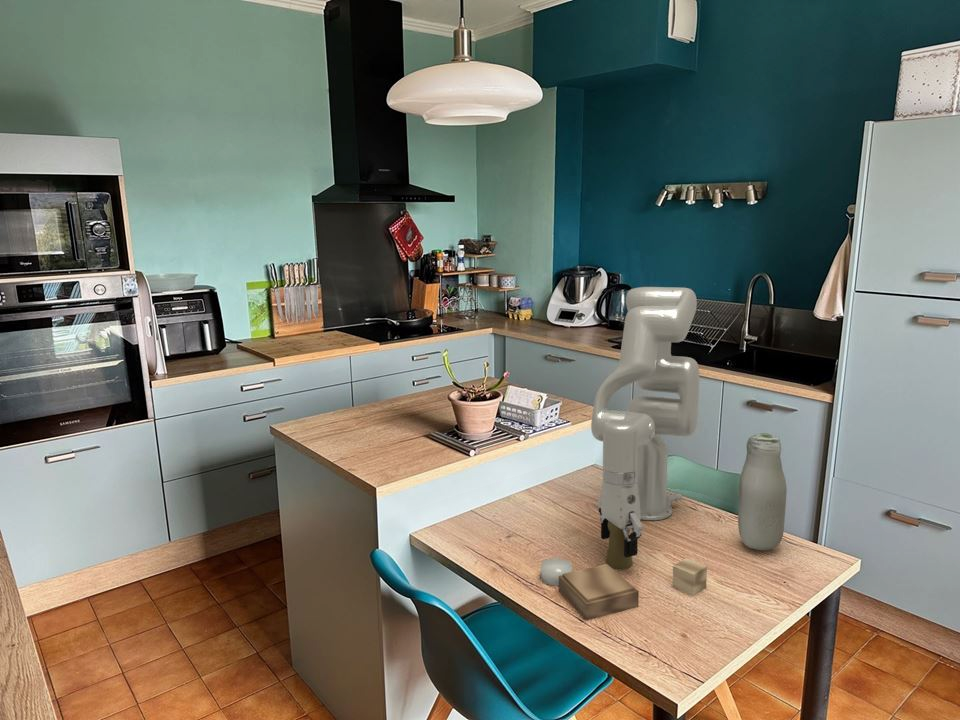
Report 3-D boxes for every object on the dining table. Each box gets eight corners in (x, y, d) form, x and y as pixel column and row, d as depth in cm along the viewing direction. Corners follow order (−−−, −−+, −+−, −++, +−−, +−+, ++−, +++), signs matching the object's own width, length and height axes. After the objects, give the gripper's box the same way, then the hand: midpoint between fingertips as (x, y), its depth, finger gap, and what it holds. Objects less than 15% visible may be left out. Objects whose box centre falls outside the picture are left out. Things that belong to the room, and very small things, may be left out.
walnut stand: (607, 578, 151) (607, 561, 150) (638, 606, 140) (638, 588, 139) (558, 590, 147) (558, 573, 146) (586, 620, 136) (586, 601, 135)
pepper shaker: (627, 572, 154) (627, 526, 151) (601, 565, 157) (601, 520, 155) (636, 560, 159) (636, 516, 156) (611, 554, 162) (611, 510, 160)
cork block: (685, 579, 150) (686, 557, 149) (706, 587, 146) (707, 566, 145) (672, 587, 147) (672, 565, 146) (693, 596, 143) (693, 574, 142)
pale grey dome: (563, 567, 157) (563, 555, 156) (578, 582, 150) (578, 570, 150) (535, 574, 154) (535, 562, 154) (549, 589, 148) (549, 576, 147)
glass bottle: (766, 535, 168) (772, 426, 163) (790, 555, 159) (798, 439, 153) (728, 539, 167) (733, 429, 161) (750, 559, 157) (756, 443, 151)
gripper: (656, 485, 147) (654, 560, 150) (613, 461, 162) (612, 528, 166) (626, 491, 144) (625, 566, 147) (585, 465, 160) (585, 534, 163)
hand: (618, 546), depth 156 cm, fingers open, 9 cm apart
